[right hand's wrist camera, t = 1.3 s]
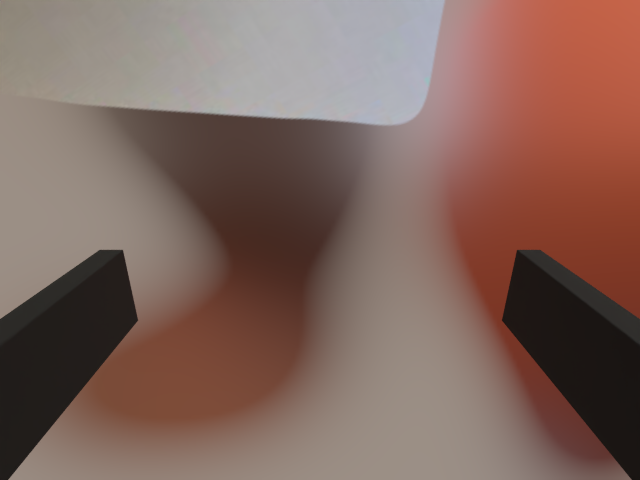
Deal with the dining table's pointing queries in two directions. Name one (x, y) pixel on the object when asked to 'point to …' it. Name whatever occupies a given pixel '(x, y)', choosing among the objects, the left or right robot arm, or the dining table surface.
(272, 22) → the dining table surface
